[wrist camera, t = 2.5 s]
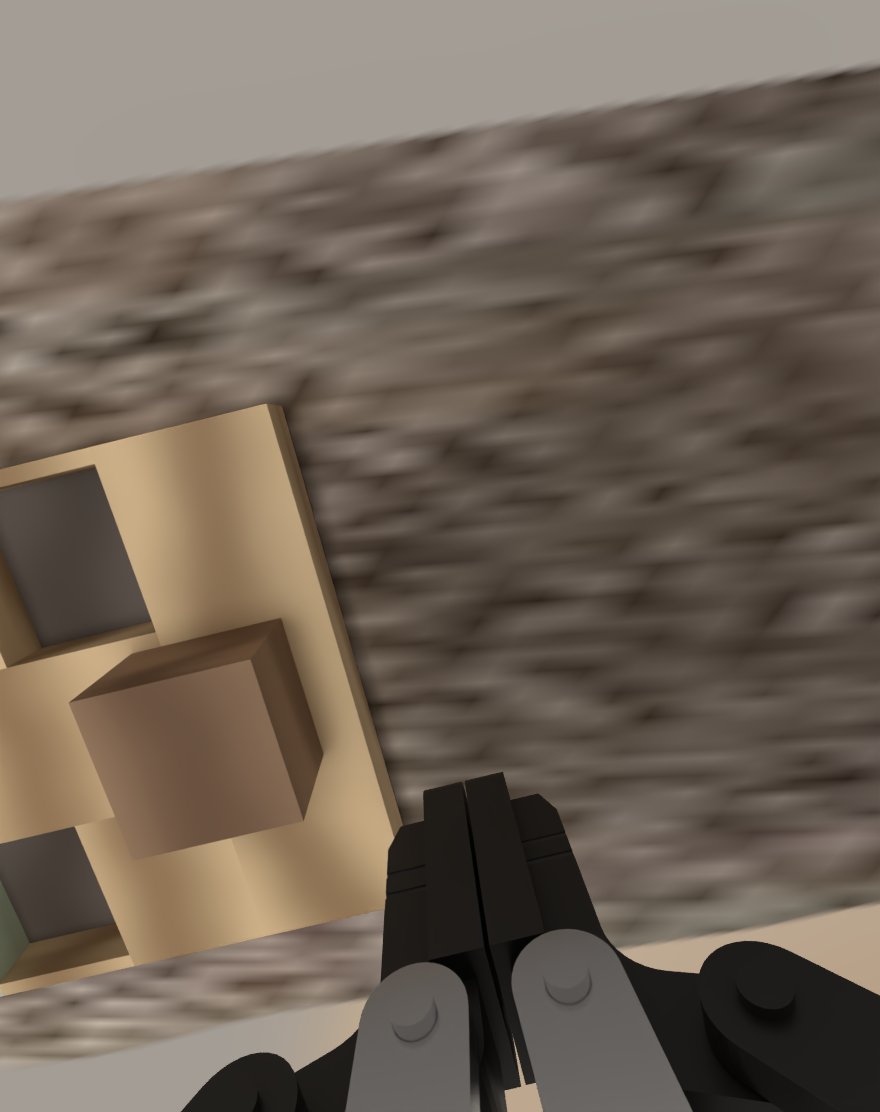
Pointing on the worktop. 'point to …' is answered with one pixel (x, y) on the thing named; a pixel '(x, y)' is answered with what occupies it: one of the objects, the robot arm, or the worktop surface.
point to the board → (149, 622)
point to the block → (202, 739)
